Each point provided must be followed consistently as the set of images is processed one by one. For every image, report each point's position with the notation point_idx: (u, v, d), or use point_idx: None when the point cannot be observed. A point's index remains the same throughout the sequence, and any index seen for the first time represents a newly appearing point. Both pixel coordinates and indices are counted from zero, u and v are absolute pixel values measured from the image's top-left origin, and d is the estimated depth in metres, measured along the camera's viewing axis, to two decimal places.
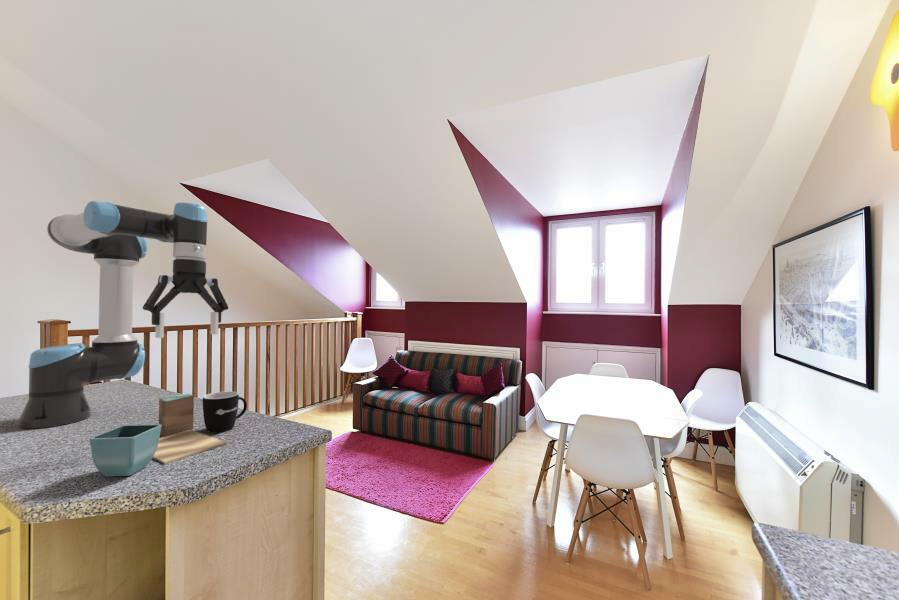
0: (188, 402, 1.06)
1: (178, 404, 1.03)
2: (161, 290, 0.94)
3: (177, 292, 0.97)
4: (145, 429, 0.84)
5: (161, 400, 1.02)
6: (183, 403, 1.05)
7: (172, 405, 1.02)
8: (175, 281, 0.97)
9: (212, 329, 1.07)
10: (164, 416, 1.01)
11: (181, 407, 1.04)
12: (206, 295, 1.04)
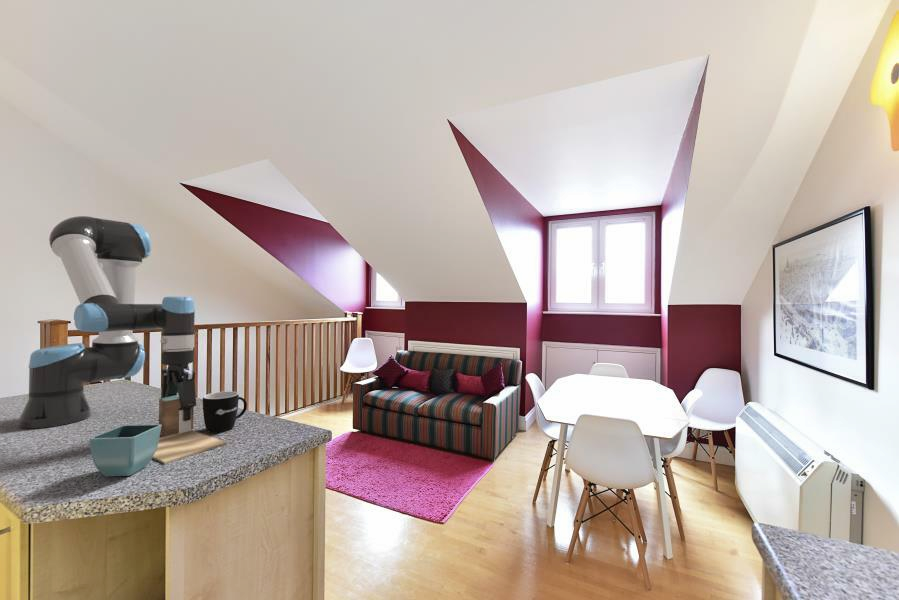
0: None
1: (178, 404, 1.03)
2: (163, 383, 1.06)
3: (168, 384, 1.04)
4: (145, 429, 0.84)
5: (161, 400, 1.02)
6: None
7: (172, 405, 1.02)
8: None
9: None
10: (164, 416, 1.01)
11: None
12: (178, 388, 1.02)
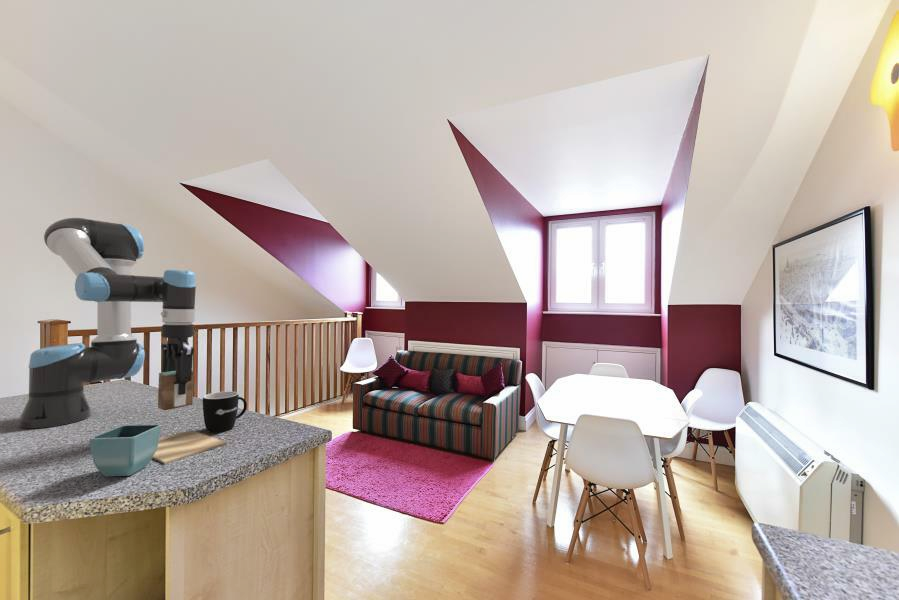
0: None
1: None
2: (163, 358, 1.07)
3: (168, 358, 1.05)
4: (145, 429, 0.84)
5: (161, 374, 1.02)
6: None
7: (172, 379, 1.02)
8: None
9: None
10: (164, 390, 1.01)
11: None
12: (175, 361, 1.03)
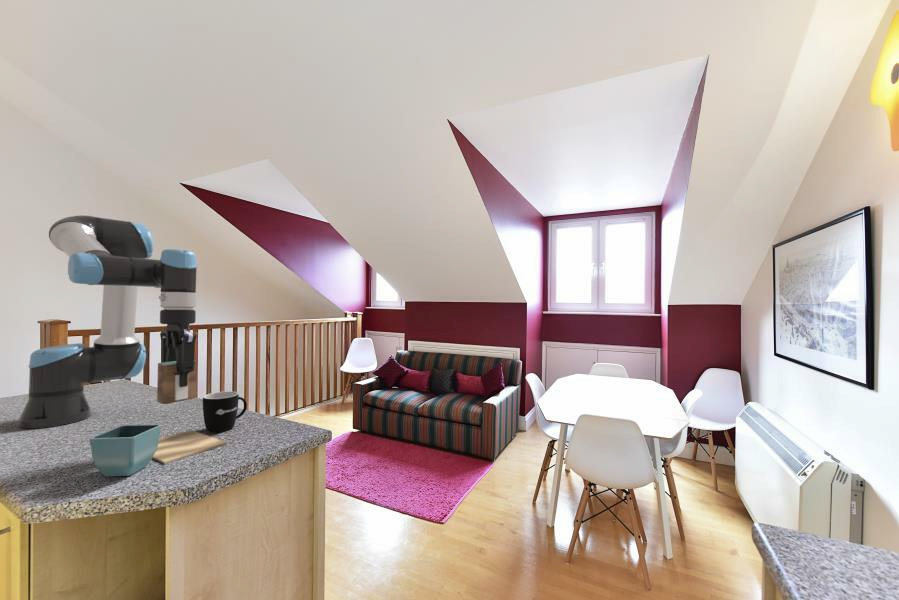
0: None
1: None
2: (162, 347, 0.97)
3: (167, 347, 0.95)
4: (145, 429, 0.84)
5: (160, 364, 0.92)
6: None
7: (172, 370, 0.93)
8: None
9: None
10: (163, 382, 0.91)
11: None
12: (176, 350, 0.93)
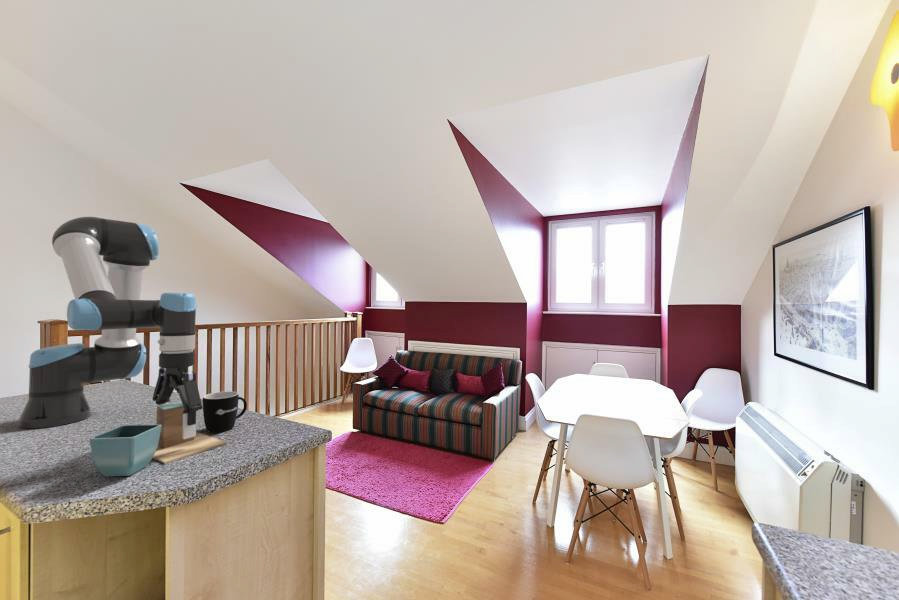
0: None
1: (178, 412, 0.94)
2: (158, 383, 0.98)
3: None
4: (145, 429, 0.84)
5: (159, 408, 0.92)
6: None
7: (171, 414, 0.92)
8: None
9: None
10: (162, 426, 0.91)
11: (181, 416, 0.94)
12: (179, 391, 0.92)
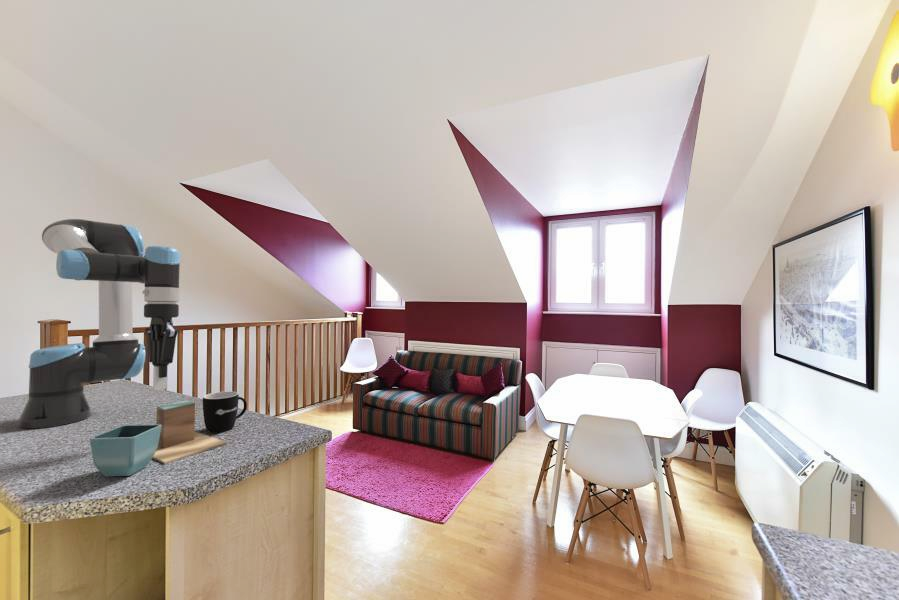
0: (189, 410, 0.96)
1: (178, 412, 0.94)
2: (148, 341, 1.01)
3: (152, 340, 0.99)
4: (145, 429, 0.84)
5: (159, 408, 0.92)
6: (183, 411, 0.95)
7: (171, 414, 0.92)
8: None
9: None
10: (162, 426, 0.91)
11: (181, 416, 0.94)
12: (157, 342, 0.98)
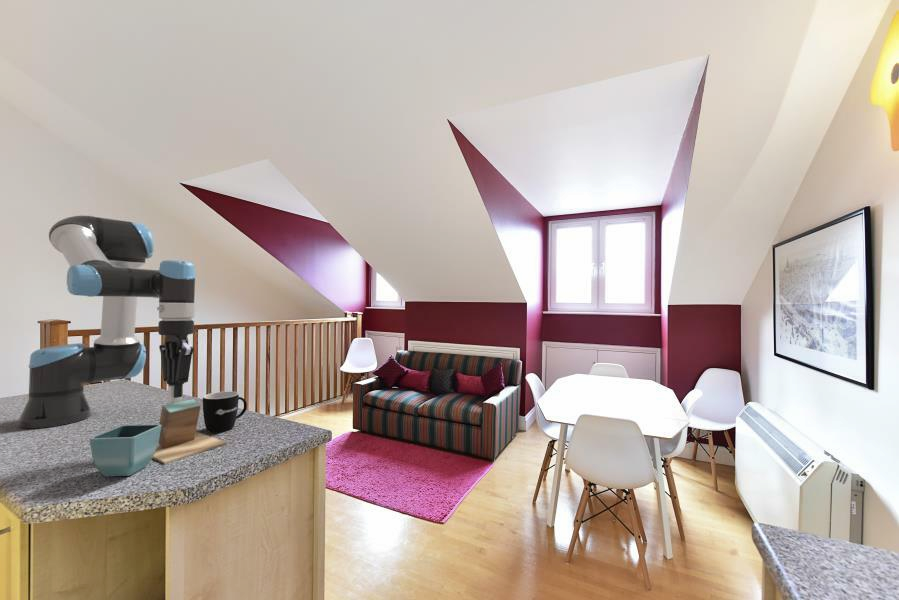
0: (193, 412, 0.95)
1: (182, 415, 0.93)
2: (163, 359, 0.96)
3: (167, 358, 0.95)
4: (145, 429, 0.84)
5: (164, 408, 0.91)
6: (188, 414, 0.94)
7: (176, 416, 0.91)
8: None
9: None
10: (165, 427, 0.91)
11: (185, 418, 0.93)
12: (172, 361, 0.94)
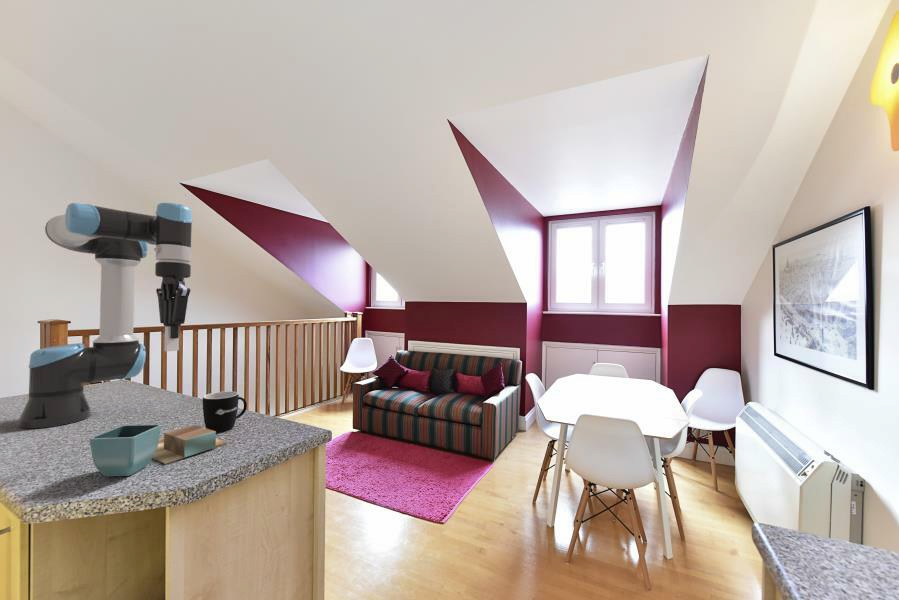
0: None
1: None
2: (159, 302, 0.98)
3: (164, 299, 0.96)
4: (145, 429, 0.84)
5: (184, 445, 0.86)
6: None
7: None
8: None
9: None
10: (175, 450, 0.88)
11: None
12: (169, 302, 0.95)
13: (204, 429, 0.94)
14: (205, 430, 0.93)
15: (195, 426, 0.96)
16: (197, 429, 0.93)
